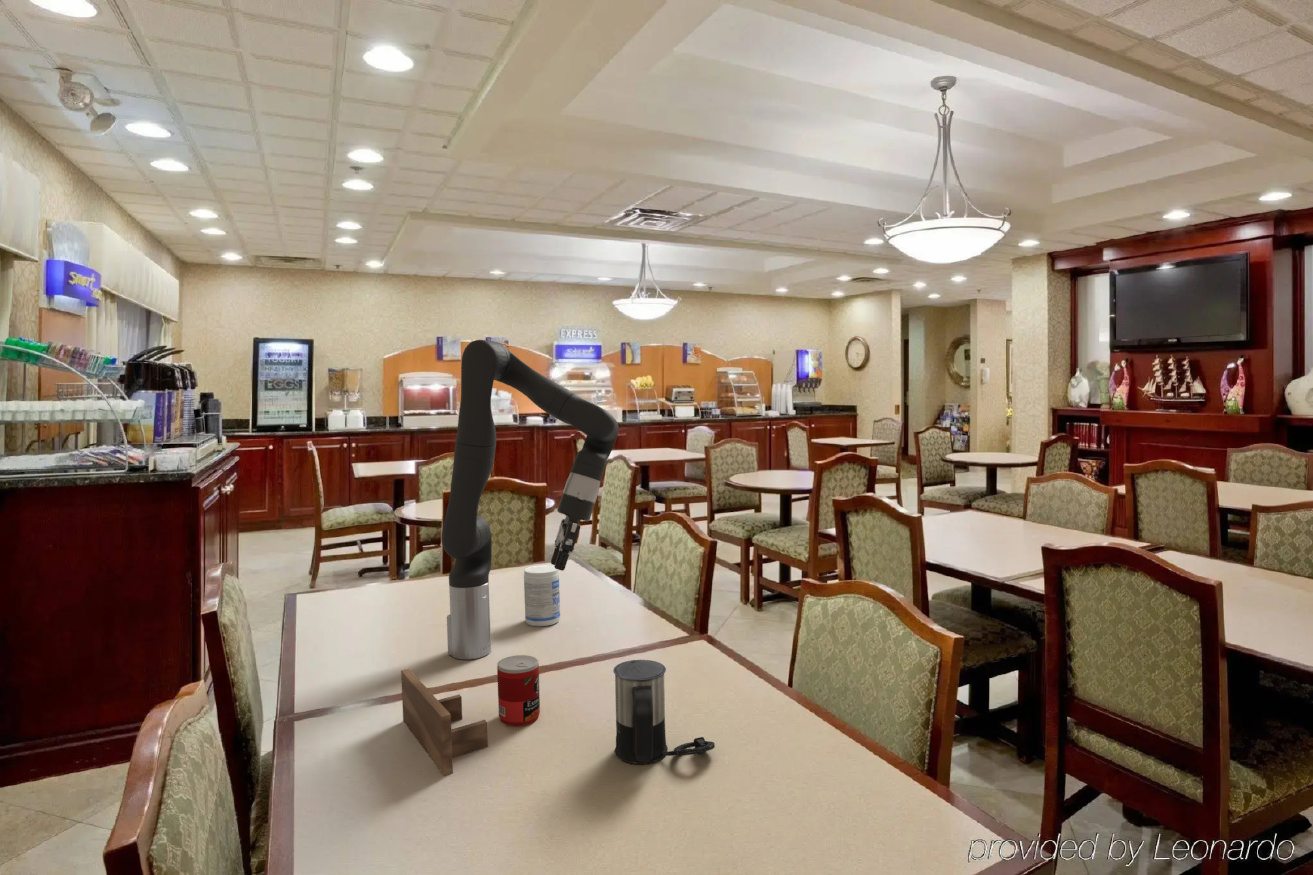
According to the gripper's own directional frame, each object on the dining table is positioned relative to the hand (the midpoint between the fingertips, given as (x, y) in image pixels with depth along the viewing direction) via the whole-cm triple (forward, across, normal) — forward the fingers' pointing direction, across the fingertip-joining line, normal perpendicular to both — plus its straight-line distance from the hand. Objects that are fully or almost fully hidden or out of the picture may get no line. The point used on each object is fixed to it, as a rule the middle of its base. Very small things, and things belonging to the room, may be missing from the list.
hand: (556, 567), depth 156 cm
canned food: (+28, +15, 0) cm, 32 cm away
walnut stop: (+33, +20, -12) cm, 41 cm away
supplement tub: (+18, -41, +6) cm, 45 cm away
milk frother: (+23, +36, +23) cm, 48 cm away
